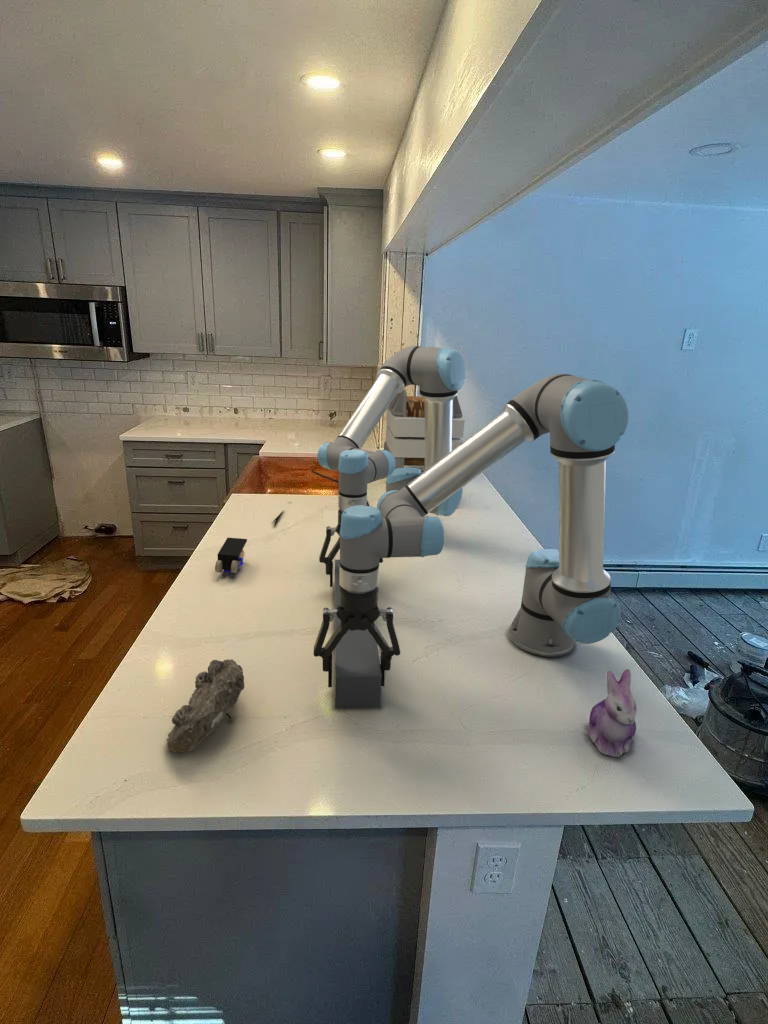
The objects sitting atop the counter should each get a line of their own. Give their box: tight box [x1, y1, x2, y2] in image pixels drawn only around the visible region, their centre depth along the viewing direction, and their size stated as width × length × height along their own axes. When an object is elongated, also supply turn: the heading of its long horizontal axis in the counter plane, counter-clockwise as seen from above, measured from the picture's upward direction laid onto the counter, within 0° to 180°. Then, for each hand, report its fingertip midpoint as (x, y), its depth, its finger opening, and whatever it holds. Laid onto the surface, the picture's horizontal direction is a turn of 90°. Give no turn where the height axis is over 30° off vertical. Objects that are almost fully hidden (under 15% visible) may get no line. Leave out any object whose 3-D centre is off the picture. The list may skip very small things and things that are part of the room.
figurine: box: [587, 668, 638, 758], centre depth 104 cm, size 9×10×15 cm
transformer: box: [383, 389, 465, 469], centre depth 268 cm, size 34×33×41 cm
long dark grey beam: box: [334, 559, 382, 710], centre depth 136 cm, size 54×9×8 cm, turn 5°
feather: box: [271, 509, 284, 527], centre depth 213 cm, size 2×28×2 cm
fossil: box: [166, 658, 245, 754], centre depth 106 cm, size 22×10×15 cm
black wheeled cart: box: [214, 537, 248, 578], centre depth 166 cm, size 7×8×15 cm
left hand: (350, 584), depth 157 cm, fingers open, 10 cm apart
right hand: (356, 682), depth 116 cm, fingers open, 10 cm apart
